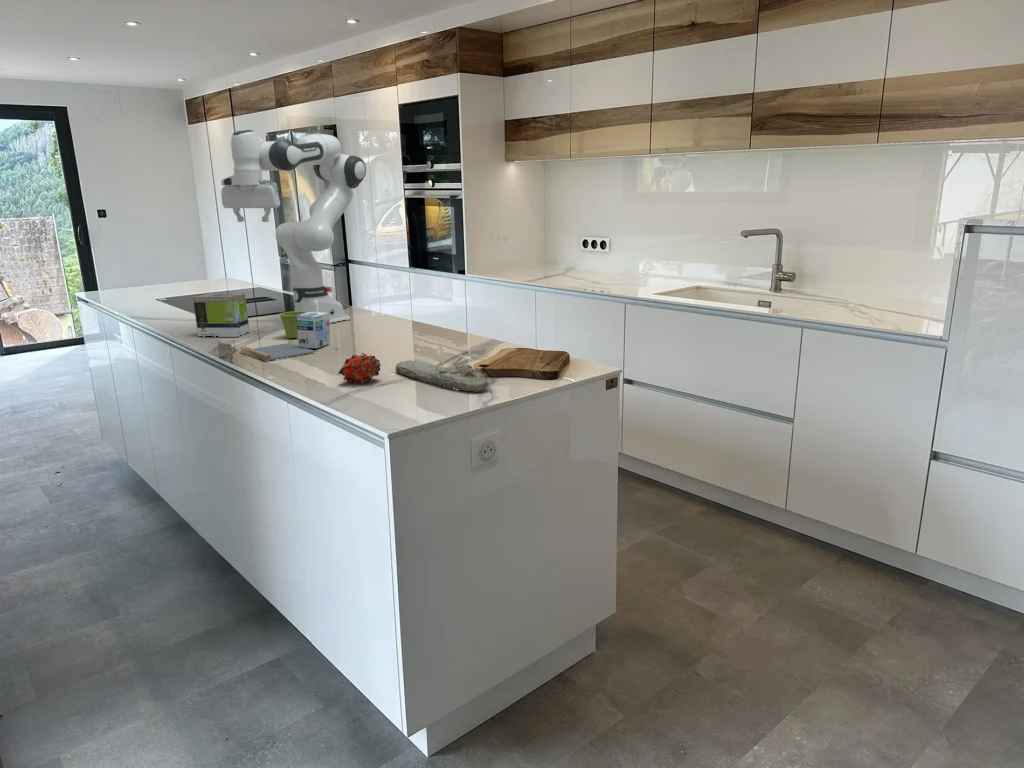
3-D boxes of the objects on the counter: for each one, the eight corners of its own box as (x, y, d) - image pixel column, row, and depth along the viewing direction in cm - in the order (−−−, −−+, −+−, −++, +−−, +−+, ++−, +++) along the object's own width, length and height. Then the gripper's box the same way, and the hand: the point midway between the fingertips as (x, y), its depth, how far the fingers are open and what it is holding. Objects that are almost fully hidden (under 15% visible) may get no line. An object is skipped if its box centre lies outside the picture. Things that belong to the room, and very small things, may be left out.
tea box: (250, 332, 256) (246, 292, 252) (237, 338, 247) (232, 296, 243) (211, 332, 258) (206, 292, 254) (197, 337, 248) (191, 296, 244)
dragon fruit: (385, 384, 191) (344, 397, 186) (374, 362, 195) (332, 374, 190) (387, 365, 185) (344, 377, 180) (375, 342, 189) (332, 353, 184)
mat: (289, 344, 235) (289, 342, 235) (316, 352, 223) (315, 351, 223) (246, 351, 225) (246, 349, 225) (271, 360, 213) (271, 358, 213)
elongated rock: (414, 371, 205) (387, 380, 198) (412, 354, 203) (384, 362, 197) (499, 387, 181) (471, 397, 174) (497, 367, 180) (469, 377, 173)
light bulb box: (316, 349, 226) (315, 316, 224) (297, 347, 227) (296, 314, 225) (331, 343, 236) (330, 312, 234) (312, 342, 238) (311, 311, 235)
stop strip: (245, 351, 225) (245, 346, 225) (271, 360, 213) (270, 355, 212) (240, 352, 224) (240, 347, 223) (266, 361, 212) (265, 355, 211)
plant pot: (301, 340, 242) (299, 316, 240) (276, 339, 244) (274, 315, 241) (313, 335, 251) (311, 311, 248) (289, 334, 253) (287, 310, 250)
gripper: (281, 179, 237) (285, 221, 241) (227, 180, 242) (232, 221, 245) (271, 179, 232) (275, 222, 235) (216, 180, 236) (221, 222, 239)
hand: (253, 221), depth 240 cm, fingers open, 8 cm apart
